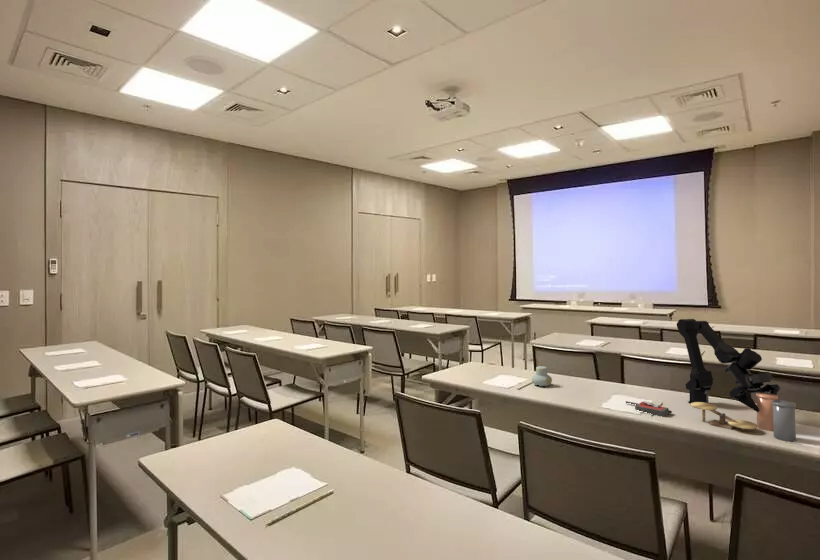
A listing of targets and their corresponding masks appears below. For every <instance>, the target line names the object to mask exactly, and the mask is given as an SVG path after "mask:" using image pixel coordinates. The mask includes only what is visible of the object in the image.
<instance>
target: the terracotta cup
mask: <svg viewBox="0 0 820 560" xmlns="http://www.w3.org/2000/svg"><path fill="white" fill-rule="evenodd" d="M755 396H756V405H757V407H758V408H759V410H760V411H759V412H756V425H757V428H758V429H760V430H763V431H769V432H774V427H773V404H772V401H773V400H778V399H779V395H778V394H777V395H775V394H771V393H761V392H760V393H755Z"/></svg>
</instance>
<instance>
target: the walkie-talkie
mask: <svg viewBox="0 0 820 560" xmlns="http://www.w3.org/2000/svg"><path fill="white" fill-rule="evenodd" d="M625 402H626V403H625V404H627V403H631V404H630V405H632V404H636V405H634V406H635V407H634V409H635V410H639V411H643V412H647V413H651V414H653V416H656V415H657V417H661V416H662V418H665V417H666V416H668V415H669V414H672V413H673V411H672V410H670V409H669V407H665V406H661V405H660V404H657V405H656V404H655V403H654V402H650V401H647V400H646V401H645V400H643V401H641V402H640V403H637V402H632V401H629V400H628V401H625ZM651 414H650V415H651Z"/></svg>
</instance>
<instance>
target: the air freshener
mask: <svg viewBox="0 0 820 560" xmlns="http://www.w3.org/2000/svg"><path fill="white" fill-rule="evenodd" d="M552 381H553V379H552V376H550V375H549V374H548V367H547V366H543V365H539V366H536V368H535V374H534V375H533V376H532V377H531V383H533V384H534V385H535V386H537V385H539V386H538V387H543V386H546V387H548V386H549V385H551V384H552Z"/></svg>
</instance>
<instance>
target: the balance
mask: <svg viewBox="0 0 820 560" xmlns="http://www.w3.org/2000/svg"><path fill="white" fill-rule="evenodd" d="M690 406H691V407H692V408H694V409H697V410H702V411H701V413H702V415H701V417H702V419H701V420H702V421H701V422H703V423H706V411H709V412H711V413H713V414H715V415H717V416H719V419H713V420H712V421H710V422H709V423H710V424H709V425H710V426H714V427H718V428H723V429H728V430H733V429H734V428H738V429H740V431H745V430H755V429H757V428H758V427H757V423H754V422H752V421H750V420H749V421H748V420H744V419H734V418H731V417H729V416H728V415H726V414H725V413H724V412H723V413H721V412H720V411H717V410H718V405H715V404H714V403H713V404H712V403H704V402H692V403H690ZM726 420H728V421H726Z"/></svg>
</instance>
